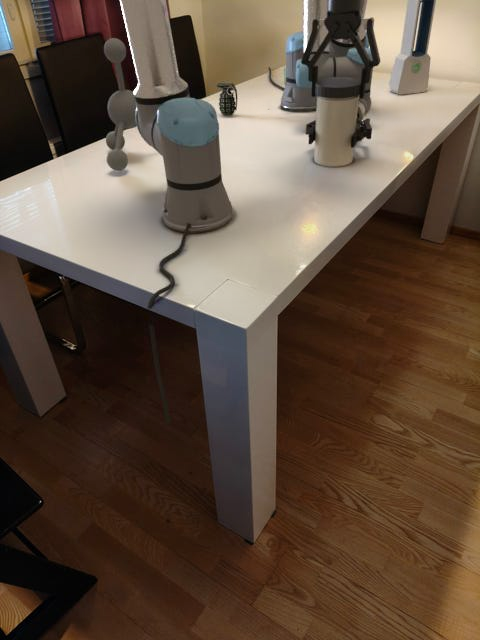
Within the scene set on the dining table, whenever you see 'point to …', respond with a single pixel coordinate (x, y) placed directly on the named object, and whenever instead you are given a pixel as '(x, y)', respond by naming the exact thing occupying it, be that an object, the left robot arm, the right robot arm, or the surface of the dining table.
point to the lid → (338, 87)
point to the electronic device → (415, 64)
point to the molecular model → (119, 108)
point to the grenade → (227, 99)
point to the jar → (335, 130)
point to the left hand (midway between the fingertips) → (337, 96)
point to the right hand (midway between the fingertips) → (331, 140)
